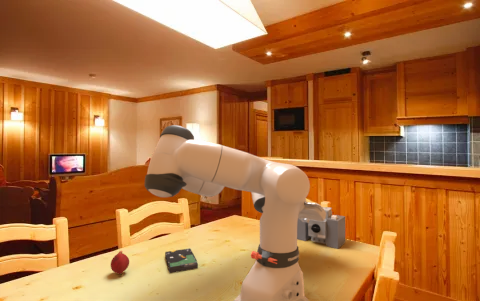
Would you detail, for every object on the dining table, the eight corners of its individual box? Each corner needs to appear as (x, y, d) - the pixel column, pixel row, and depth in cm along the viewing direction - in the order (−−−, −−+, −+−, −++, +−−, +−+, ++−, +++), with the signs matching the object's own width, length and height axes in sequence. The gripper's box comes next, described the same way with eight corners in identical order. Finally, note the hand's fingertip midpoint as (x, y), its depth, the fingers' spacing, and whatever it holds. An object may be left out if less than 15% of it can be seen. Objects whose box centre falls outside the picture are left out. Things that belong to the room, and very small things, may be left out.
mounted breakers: (337, 248, 111) (337, 218, 111) (295, 238, 124) (295, 211, 124) (345, 242, 119) (345, 213, 119) (304, 233, 132) (304, 207, 132)
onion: (117, 279, 86) (117, 255, 86) (107, 275, 88) (106, 252, 88) (132, 272, 91) (132, 249, 91) (122, 268, 94) (121, 246, 93)
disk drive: (164, 258, 104) (169, 274, 90) (164, 251, 104) (169, 266, 90) (190, 254, 107) (198, 269, 94) (190, 247, 108) (198, 261, 94)
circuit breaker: (307, 245, 116) (307, 211, 116) (316, 236, 128) (316, 205, 128) (324, 248, 112) (324, 214, 112) (332, 239, 124) (331, 207, 124)
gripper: (322, 197, 95) (332, 218, 103) (275, 192, 109) (287, 211, 116) (317, 211, 92) (328, 232, 99) (269, 204, 105) (282, 223, 113)
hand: (305, 220), depth 108 cm, fingers closed
